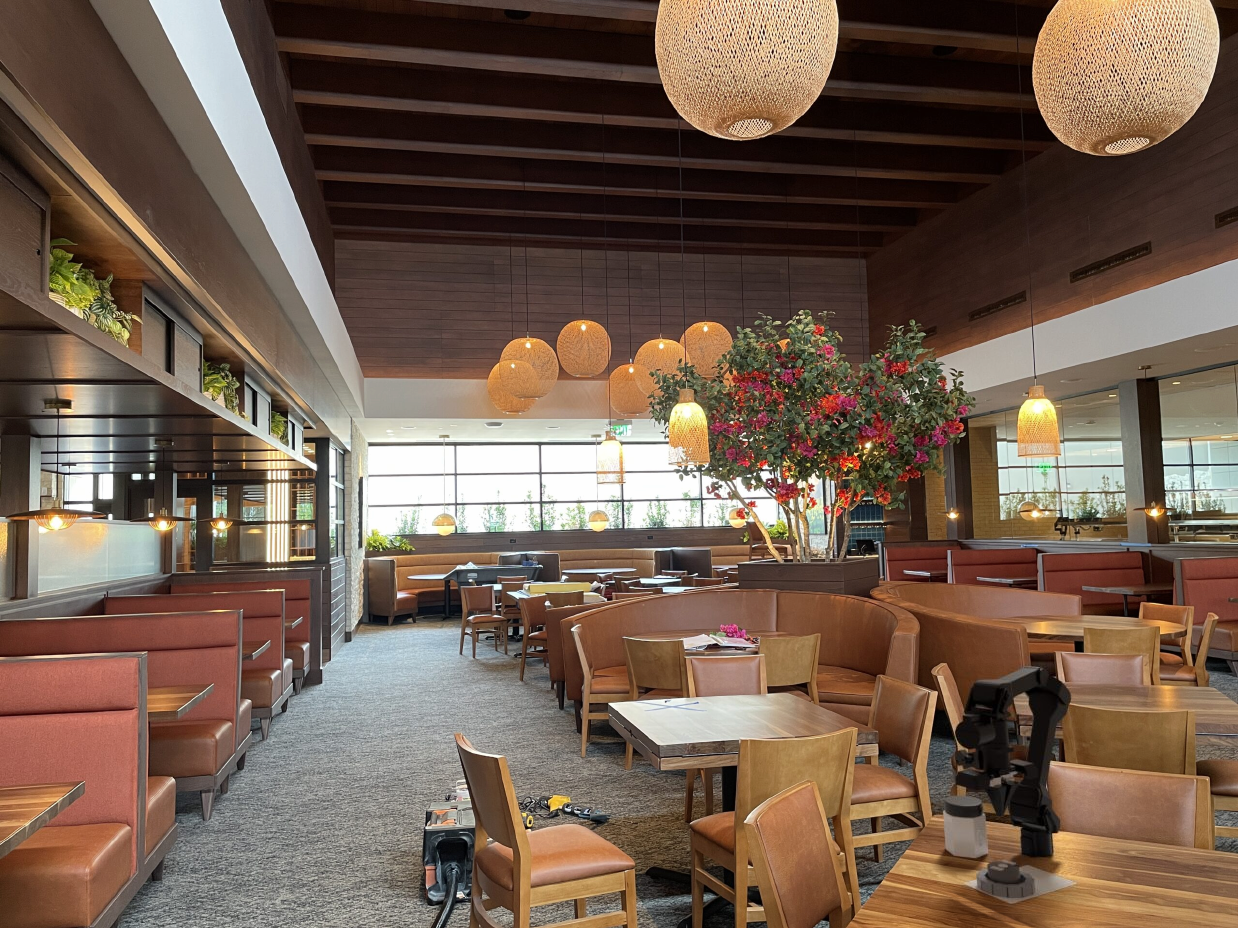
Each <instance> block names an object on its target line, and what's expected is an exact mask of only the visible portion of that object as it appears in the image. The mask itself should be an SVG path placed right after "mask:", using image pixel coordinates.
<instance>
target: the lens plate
mask: <svg viewBox="0 0 1238 928" xmlns="http://www.w3.org/2000/svg"><path fill="white" fill-rule="evenodd" d="M1019 869H1020V878H1021V883H1020V884H1001V883H995V882H993V881H990V880H989V877H988V869H987V868H983V869H980V870H978V872H977V873H976V874H975V875H976V879H973V880H970V881H967V882H963V883H962V884H963V885H965V886H967V887H970V888H973V889H974V890H977V891H979V892H981V893H983V894H986V895H989V896H991V897H993V898H996V899H998V900H1000V901H1003V902H1005V903H1008V904H1009V905H1012V904H1016V903H1019V902H1022V901H1026V900H1029V899H1033V898H1035V897H1038V896H1042V895H1045V894H1048V893H1052V892H1054V891H1059V890H1061V889H1065V888H1068V887H1071V886H1074V885H1078V884H1079V883H1078V882H1075V881H1072V880H1069V879H1067V878H1064V877H1062V876H1059V875H1056V874H1053V873H1052V872H1051V873H1050V872H1048V871H1045V870H1042V869H1040V868H1037V867H1035V866H1031V865H1029V864H1027V865H1023V866H1019Z"/></svg>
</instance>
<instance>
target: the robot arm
mask: <svg viewBox="0 0 1238 928" xmlns="http://www.w3.org/2000/svg"><path fill="white" fill-rule="evenodd" d="M1022 694H1025V696H1026V697H1027V698H1028V703H1027V704H1028V706H1029V709H1030V711H1031V713H1032V716H1033V717H1032V718H1033V720H1032V726H1031V729H1030V730H1031V732H1030V736H1029V742H1028V746H1027V747H1028V749H1027V752H1026V753H1027V754H1026V759H1025V760H1021V759H1012V760H1011V754H1010V753H1012V752H1013V753H1014V752H1015V748H1014V747H1015V746H1012V745H1010V741H1009V728H1008V719H1009V718H1010V717H1012V714H1011V712H1010V711H1008V709H1009V707H1011V706H1012V705H1013V704H1014V698H1016V697H1018V696H1020V695H1022ZM1071 701H1072V694H1071V691H1070V690H1069V688H1068V687H1067V686H1066V684H1065V683H1064V682H1063V681H1061V680H1060V679H1058V678H1057V677H1055V676H1053V675H1052V674H1050V673H1049V672H1048V670H1046V669H1045V668H1043V667H1041V666H1040V667H1039V666H1031V665H1030V666H1029V665H1025V666H1021V667H1020V669H1017V670H1016V671H1013V672H1011V673H1009V674H1006V675H1005V676H1002V677H1000V678H997V679H978V680H976V681H974V682H973V684H972V686H971V688H970V690H969V695H968V697H967V700H966V704H965V708H964V711H963V715H962V721H960V722H959V723H958V724H957V725H956V727H955V730H954V735H955V739H956V741H957V742H958V744H959V745H960V746H961V747H962V749H959V750H956V751H954V761H955V763H956V765H957V766H958V767H961V766H962V770H959V771H957V772H956V773H955V785H956V786H959V787H963V788H965V789H969V790H972V791H982V790H984V791H985V792H986V794H987V797H988V798H989V800H990V804H991V806H992V807H993V810H994V812H995V814H996V817H1004V815H1005V813H1006V810H1008V814H1009V816H1010V817H1009V818H1010V821H1011V824H1012V827H1016V828H1020V829H1019V830H1020V836H1019V838H1020V852H1021V855H1023V856H1025V857H1028V858H1030V859H1031V858H1049V857H1051V856H1053V853H1054V839H1053V834H1054V835H1055V834H1058V833H1059V831H1060V829H1061V819H1060V817H1059V816H1058V815H1057V814H1056V812H1055V810H1054V809H1053V799H1052V798H1051V794H1050V792H1049V790H1048V788H1047V787H1048V781H1049V780H1048V779H1049V772H1050V768H1051V761H1052V754H1053V749H1054V743H1055V737H1056V731H1057V724H1058V723H1059V722H1061V721H1062V719H1064V717H1066V716H1067V714H1068V709H1069V705H1071ZM967 750H974V751H971V752H968V751H967ZM971 768H972V769H971ZM974 769H975V770H974ZM1018 775H1022V779H1021V781H1015V778H1014V776H1018Z"/></svg>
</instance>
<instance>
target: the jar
mask: <svg viewBox="0 0 1238 928" xmlns="http://www.w3.org/2000/svg"><path fill="white" fill-rule="evenodd" d="M943 800H944V801H943V802H944V804H943V805H944V810H943V811H942V814H943V829H944V841H945V842H944V843H945V850H946V851H948V852H949V853H950V854H951V855H953V856H955V857H963V858H973V859H977V858H980V857H982V856H985V855H987V854H989V847H988V833H987V821H986V820H987V819H986V814H985V813H984V806H983V801H982V800H981V799H980V798H977V797H975V796H969V795H951V796H948V797H946V798H944V799H943Z"/></svg>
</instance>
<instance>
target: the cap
mask: <svg viewBox="0 0 1238 928" xmlns="http://www.w3.org/2000/svg"><path fill="white" fill-rule="evenodd" d="M986 867H987V869H988V877H989V880H990V881H993V882H995V883H1001V884H1020V883H1021V878H1020V869H1019V867H1020V866H1019V865H1018V864H1017V863H1016V862H1013V861H1010V860H1006V859H1004V860H998V861H991V862H988V863H987V865H986Z"/></svg>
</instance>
